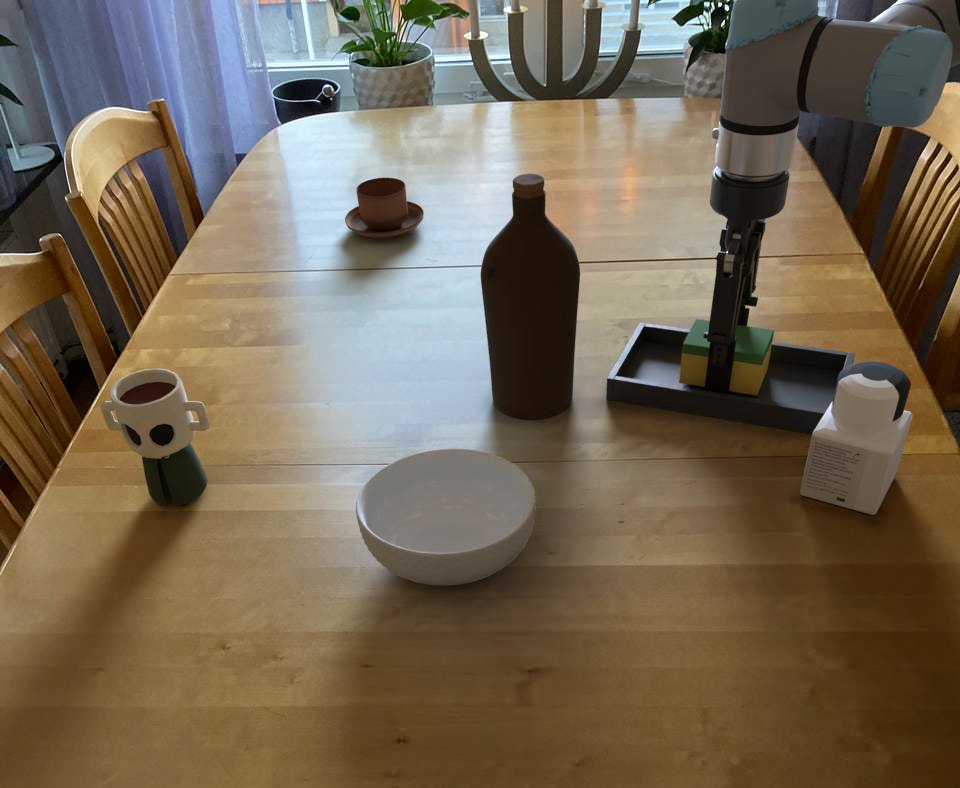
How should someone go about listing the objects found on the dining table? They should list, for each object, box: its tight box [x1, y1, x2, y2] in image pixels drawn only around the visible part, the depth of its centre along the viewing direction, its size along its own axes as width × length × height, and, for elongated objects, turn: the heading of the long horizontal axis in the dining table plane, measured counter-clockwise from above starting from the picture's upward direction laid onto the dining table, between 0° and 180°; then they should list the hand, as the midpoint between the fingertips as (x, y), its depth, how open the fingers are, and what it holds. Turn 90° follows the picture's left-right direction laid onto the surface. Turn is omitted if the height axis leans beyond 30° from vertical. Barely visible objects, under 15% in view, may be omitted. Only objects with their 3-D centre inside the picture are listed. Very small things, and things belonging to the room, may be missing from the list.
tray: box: [605, 321, 856, 435], centre depth 116 cm, size 26×14×3 cm, turn 68°
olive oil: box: [480, 173, 581, 420], centre depth 109 cm, size 11×11×25 cm
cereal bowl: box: [355, 448, 537, 587], centre depth 96 cm, size 17×17×7 cm
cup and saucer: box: [344, 177, 425, 239], centre depth 151 cm, size 12×12×6 cm
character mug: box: [99, 367, 211, 506], centre depth 104 cm, size 11×7×13 cm, turn 85°
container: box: [799, 360, 914, 516], centre depth 98 cm, size 8×8×13 cm
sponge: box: [679, 318, 775, 395], centre depth 114 cm, size 9×6×5 cm, turn 68°
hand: (723, 373), depth 116 cm, fingers closed on sponge, 6 cm apart
